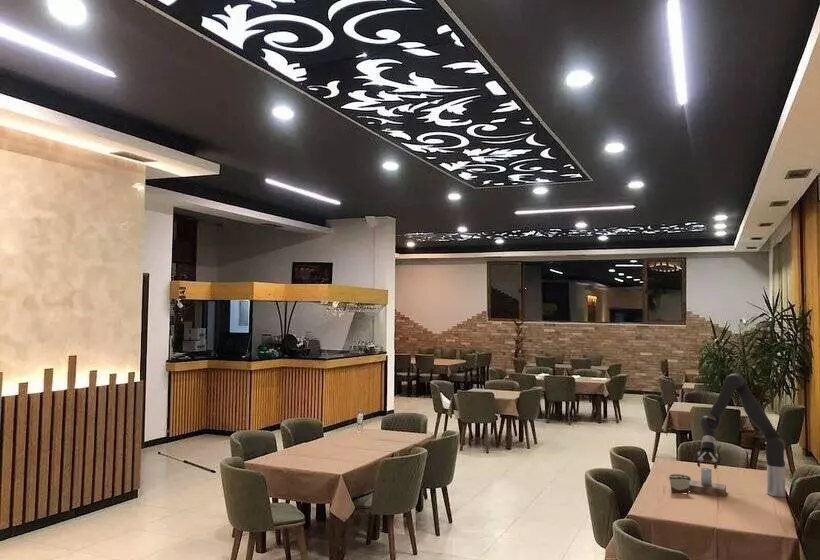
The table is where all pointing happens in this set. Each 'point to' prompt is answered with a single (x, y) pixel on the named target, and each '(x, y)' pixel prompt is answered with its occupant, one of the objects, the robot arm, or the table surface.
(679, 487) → the food container
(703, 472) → the ceramic jar
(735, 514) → the table surface
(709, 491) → the walnut stand
